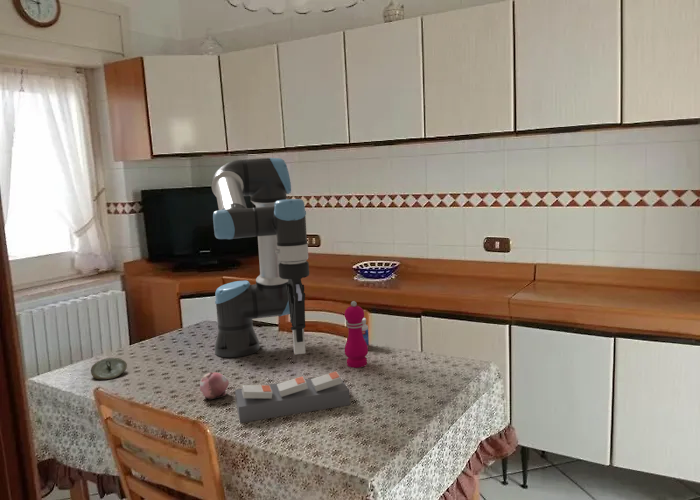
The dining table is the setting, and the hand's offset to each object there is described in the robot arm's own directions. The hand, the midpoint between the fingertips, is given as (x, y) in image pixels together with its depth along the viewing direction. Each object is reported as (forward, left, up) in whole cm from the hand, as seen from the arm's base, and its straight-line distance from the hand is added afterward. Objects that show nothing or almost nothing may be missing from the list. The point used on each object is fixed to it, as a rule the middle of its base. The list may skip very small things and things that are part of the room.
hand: (299, 352), depth 149 cm
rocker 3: (0, +7, -9) cm, 11 cm away
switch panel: (-2, -2, -14) cm, 15 cm away
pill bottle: (-41, +28, -15) cm, 51 cm away
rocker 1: (0, -11, -9) cm, 14 cm away
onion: (-16, -21, -15) cm, 30 cm away
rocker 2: (0, -2, -9) cm, 9 cm away
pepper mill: (-25, +22, -15) cm, 36 cm away
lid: (-47, -53, -15) cm, 72 cm away
